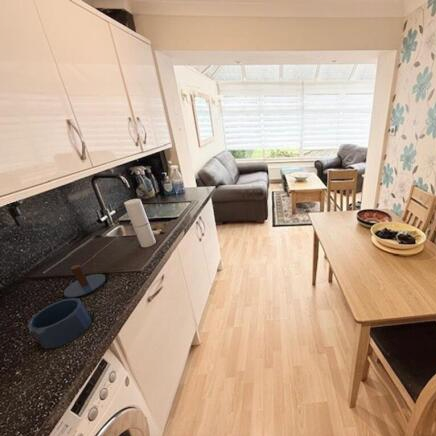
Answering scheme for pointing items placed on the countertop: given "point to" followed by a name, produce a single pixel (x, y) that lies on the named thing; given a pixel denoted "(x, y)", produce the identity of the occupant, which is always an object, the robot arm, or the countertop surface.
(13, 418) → the countertop surface
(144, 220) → the cylindrical container
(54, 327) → the pot
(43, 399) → the countertop surface
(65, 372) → the countertop surface
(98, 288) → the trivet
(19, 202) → the robot arm
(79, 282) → the lid
